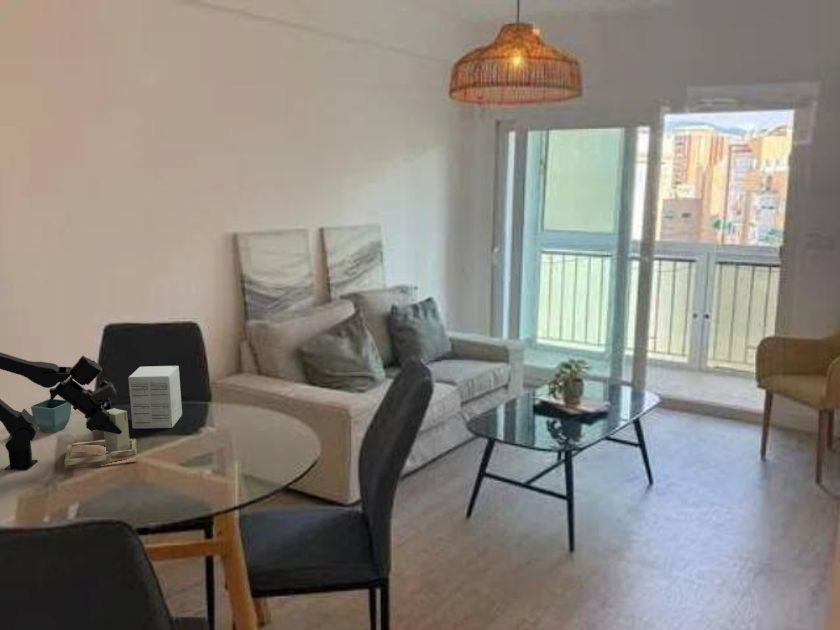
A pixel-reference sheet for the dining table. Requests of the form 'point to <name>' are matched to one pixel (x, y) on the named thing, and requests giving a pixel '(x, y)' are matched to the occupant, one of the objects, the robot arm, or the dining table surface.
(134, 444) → the keyhole guide
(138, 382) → the supplement box
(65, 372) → the robot arm
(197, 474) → the dining table surface
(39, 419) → the flower pot
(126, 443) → the skincare box
